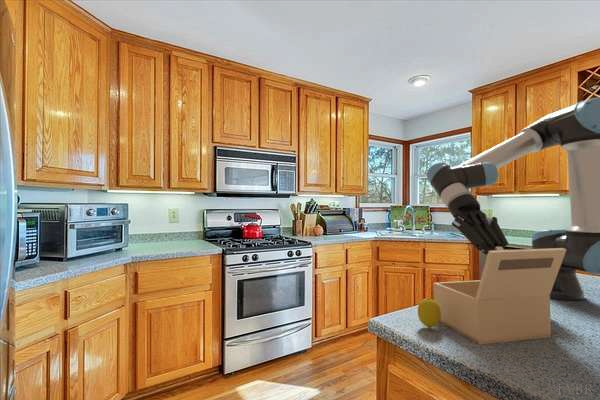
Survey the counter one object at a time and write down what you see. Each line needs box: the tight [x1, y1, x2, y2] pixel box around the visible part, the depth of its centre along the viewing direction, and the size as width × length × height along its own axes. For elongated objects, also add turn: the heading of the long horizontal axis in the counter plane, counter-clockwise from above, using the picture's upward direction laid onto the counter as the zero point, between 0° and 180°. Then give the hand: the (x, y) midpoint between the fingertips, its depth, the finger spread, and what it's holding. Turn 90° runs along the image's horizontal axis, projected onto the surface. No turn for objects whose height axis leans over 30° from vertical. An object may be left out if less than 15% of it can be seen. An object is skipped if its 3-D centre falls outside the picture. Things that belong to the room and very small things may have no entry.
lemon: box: [417, 296, 441, 330], centre depth 75 cm, size 6×6×8 cm
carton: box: [432, 279, 552, 346], centre depth 76 cm, size 20×16×10 cm
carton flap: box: [476, 248, 566, 300], centre depth 67 cm, size 20×1×12 cm, turn 101°
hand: (512, 272), depth 68 cm, fingers closed
